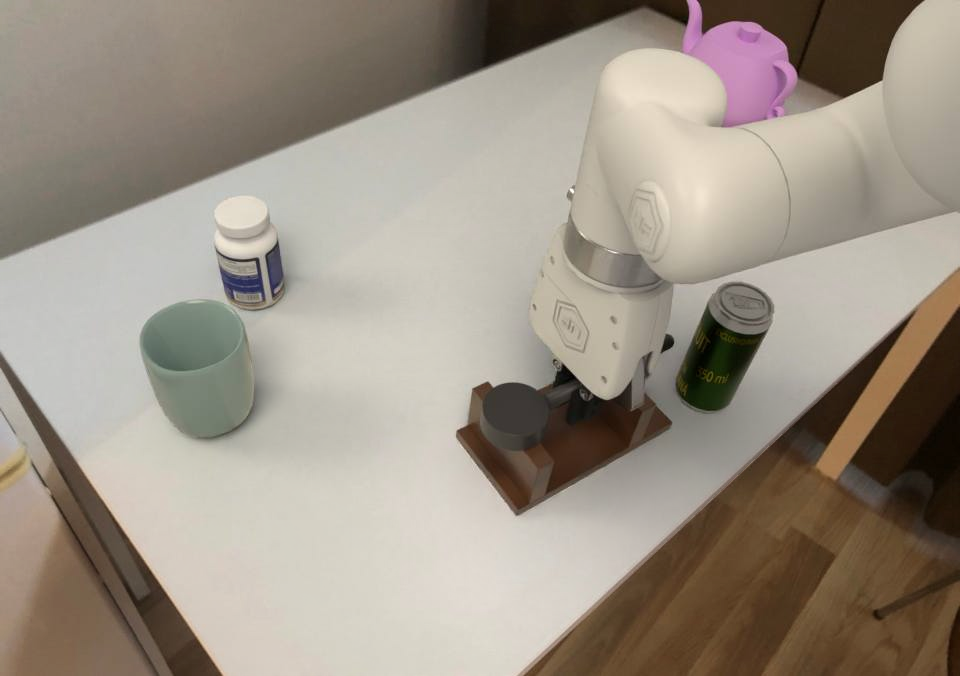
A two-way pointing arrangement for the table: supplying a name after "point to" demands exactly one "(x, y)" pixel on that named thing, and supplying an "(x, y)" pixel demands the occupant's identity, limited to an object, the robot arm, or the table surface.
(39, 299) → the table surface
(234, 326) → the cup
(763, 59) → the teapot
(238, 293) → the pill bottle
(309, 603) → the table surface
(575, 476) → the rack
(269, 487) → the table surface
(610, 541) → the table surface
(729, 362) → the beer can
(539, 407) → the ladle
